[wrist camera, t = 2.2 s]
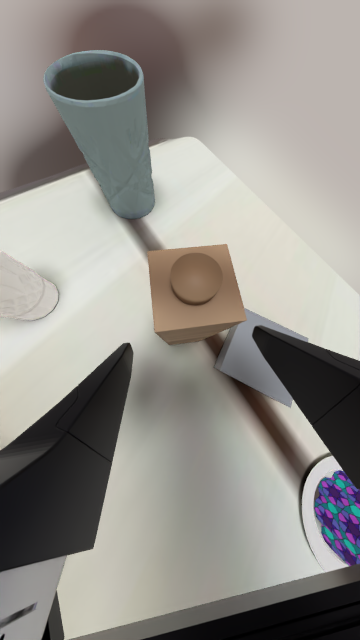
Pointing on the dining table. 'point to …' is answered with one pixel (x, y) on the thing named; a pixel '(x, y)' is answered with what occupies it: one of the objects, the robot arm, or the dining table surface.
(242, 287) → the dining table surface
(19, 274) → the white cup
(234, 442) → the dining table surface
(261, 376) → the base brick
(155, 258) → the column
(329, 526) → the purple patterned hat
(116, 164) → the green cup
